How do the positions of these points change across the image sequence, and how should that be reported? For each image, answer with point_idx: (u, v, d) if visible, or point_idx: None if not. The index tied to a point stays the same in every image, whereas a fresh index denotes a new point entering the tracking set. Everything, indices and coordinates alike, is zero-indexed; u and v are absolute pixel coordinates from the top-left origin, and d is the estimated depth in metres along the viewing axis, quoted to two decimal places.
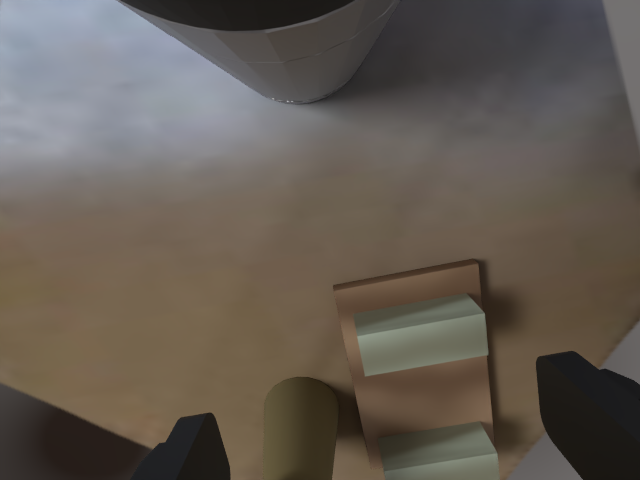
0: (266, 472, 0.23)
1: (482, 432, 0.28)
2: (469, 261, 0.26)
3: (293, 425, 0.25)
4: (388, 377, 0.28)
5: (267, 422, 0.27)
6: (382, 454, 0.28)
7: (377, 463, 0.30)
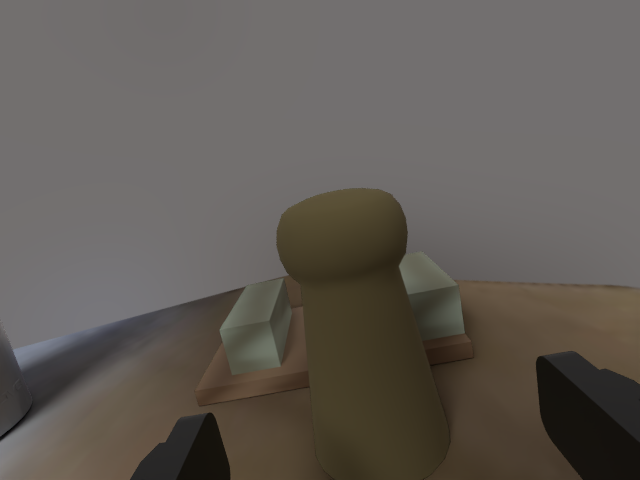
0: (318, 317, 0.14)
1: None
2: None
3: None
4: None
5: (331, 415, 0.14)
6: None
7: (458, 338, 0.21)
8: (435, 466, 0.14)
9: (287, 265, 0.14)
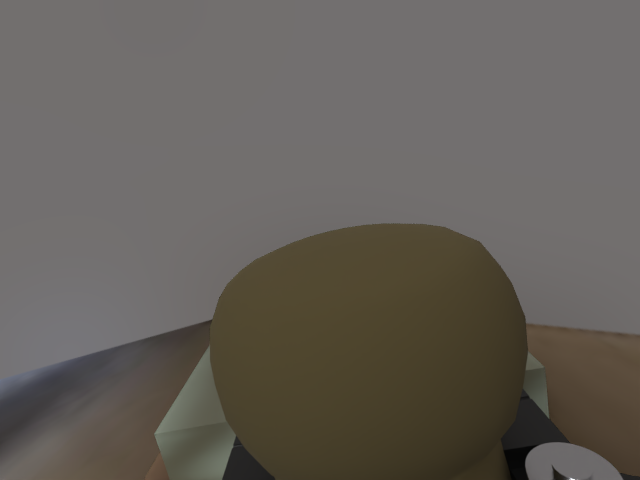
0: None
1: None
2: None
3: None
4: None
5: None
6: None
7: None
8: None
9: (230, 424, 0.06)
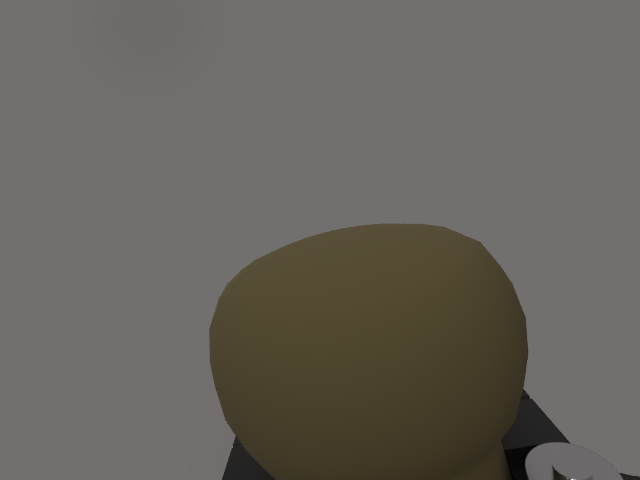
0: None
1: None
2: None
3: None
4: None
5: None
6: None
7: None
8: None
9: (230, 424, 0.06)
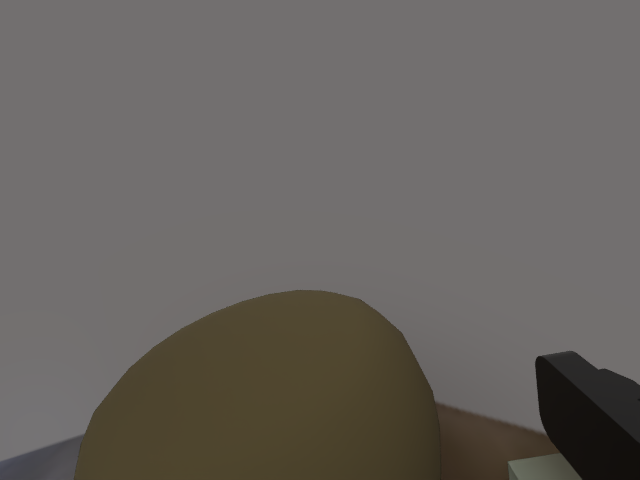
0: None
1: None
2: None
3: None
4: None
5: None
6: None
7: None
8: None
9: None
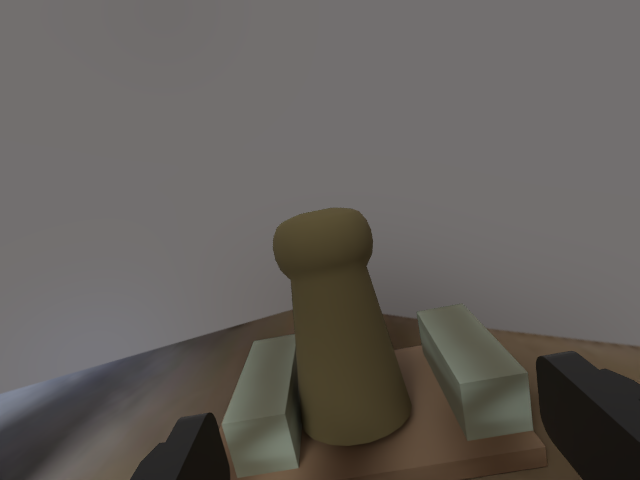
0: (300, 302, 0.18)
1: (421, 339, 0.25)
2: None
3: None
4: None
5: (309, 382, 0.18)
6: (462, 409, 0.17)
7: (526, 439, 0.17)
8: (392, 430, 0.18)
9: (278, 262, 0.19)
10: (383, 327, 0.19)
